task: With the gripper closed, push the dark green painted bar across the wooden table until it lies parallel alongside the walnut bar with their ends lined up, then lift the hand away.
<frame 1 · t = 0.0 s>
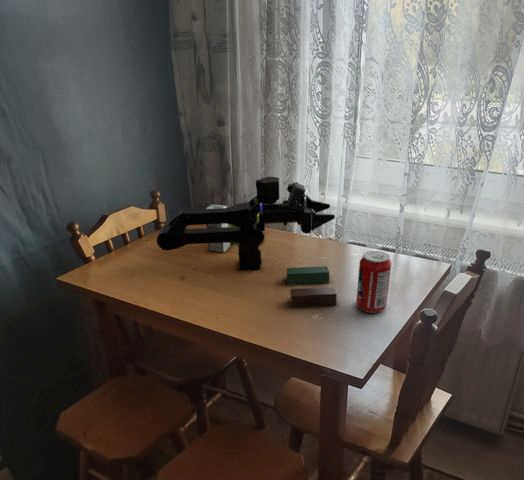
hand: (332, 211, 146), 17 cm above the table, tool horizontal, fingers open, 9 cm apart
walnut bar: (312, 302, 134), on the table
puzzle toy: (248, 238, 173), on the table
syrup box: (219, 249, 166), on the table
green bar: (307, 280, 145), on the table
soda can: (370, 308, 131), on the table
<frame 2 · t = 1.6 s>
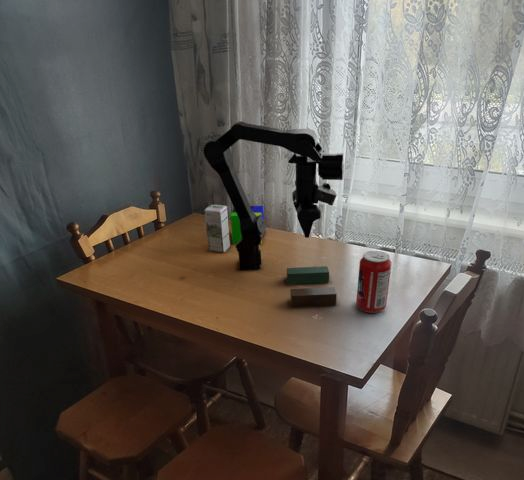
hand: (305, 232, 144), 12 cm above the table, tool pointing down, fingers open, 8 cm apart
nothing on the table moved.
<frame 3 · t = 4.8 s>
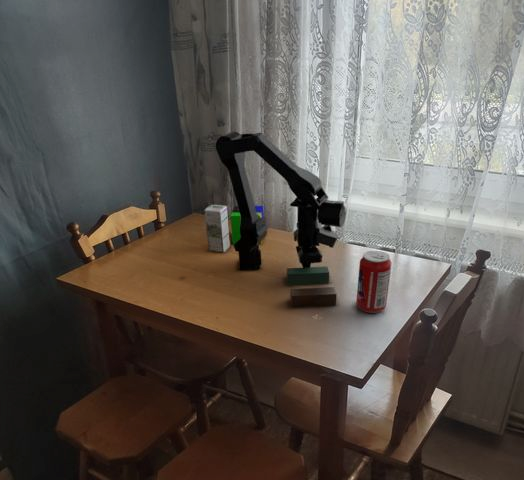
hand: (306, 272, 147), 1 cm above the table, tool pointing down, fingers closed
green bar: (307, 281, 145), on the table, touching gripper
everything else where it was.
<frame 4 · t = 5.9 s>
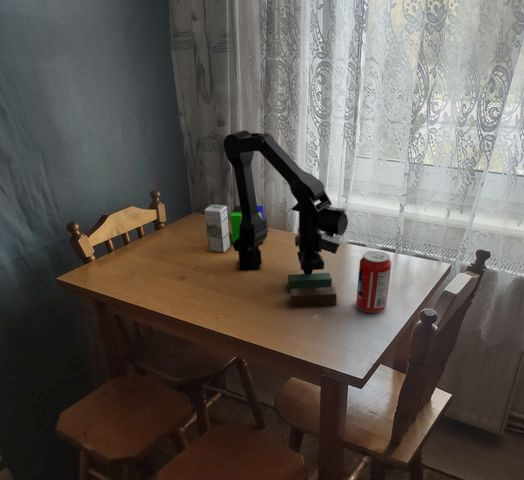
hand: (308, 278, 143), 1 cm above the table, tool pointing down, fingers closed
green bar: (309, 287, 141), on the table, touching gripper
everything else where it was.
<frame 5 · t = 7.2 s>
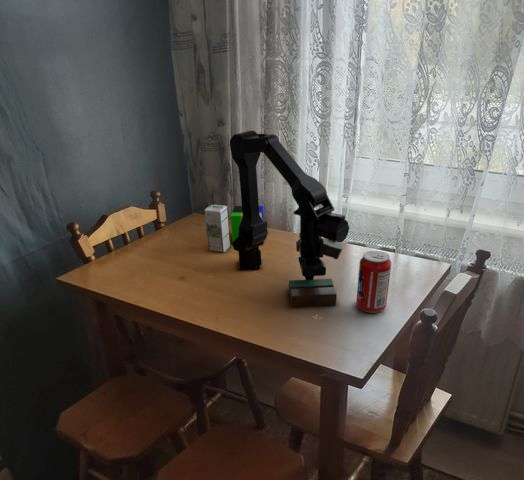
hand: (309, 284, 140), 1 cm above the table, tool pointing down, fingers closed
green bar: (310, 293, 138), on the table, touching gripper
everything else where it was.
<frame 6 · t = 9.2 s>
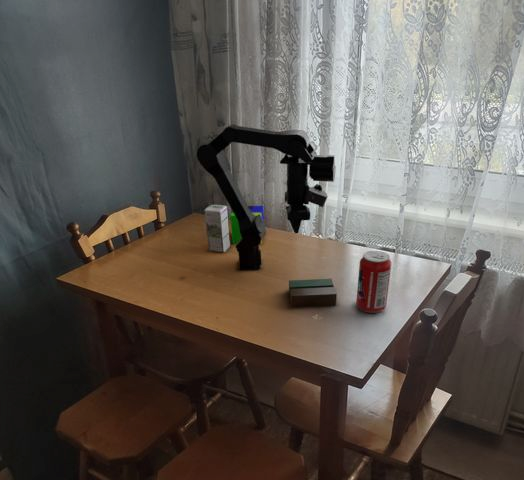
hand: (296, 232, 145), 12 cm above the table, tool pointing down, fingers closed
green bar: (310, 293, 138), on the table
everything else where it was.
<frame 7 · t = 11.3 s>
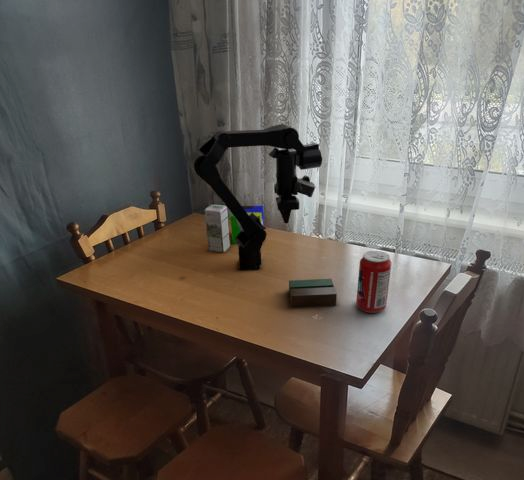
hand: (286, 222, 152), 12 cm above the table, tool pointing down, fingers closed
nothing on the table moved.
at the end: green bar 0.7 cm from the target spot on the table beside the walnut bar, on the table; green bar tilted 0°; walnut bar moved 0.0 cm from its start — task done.
